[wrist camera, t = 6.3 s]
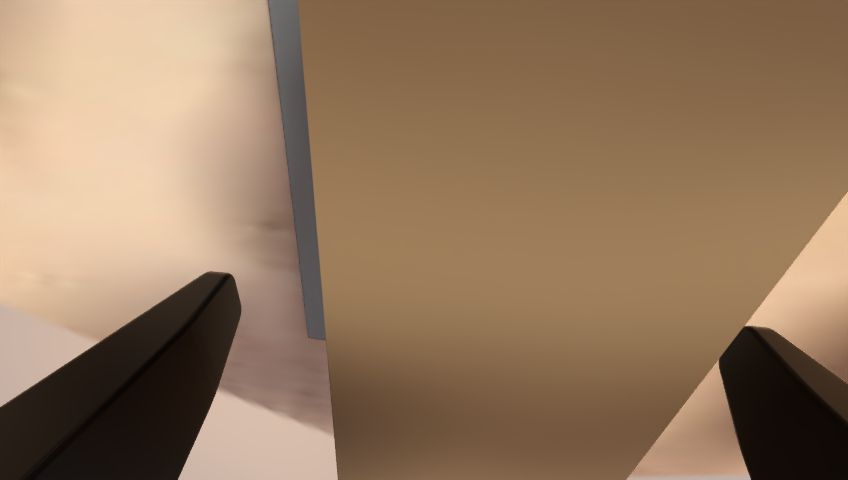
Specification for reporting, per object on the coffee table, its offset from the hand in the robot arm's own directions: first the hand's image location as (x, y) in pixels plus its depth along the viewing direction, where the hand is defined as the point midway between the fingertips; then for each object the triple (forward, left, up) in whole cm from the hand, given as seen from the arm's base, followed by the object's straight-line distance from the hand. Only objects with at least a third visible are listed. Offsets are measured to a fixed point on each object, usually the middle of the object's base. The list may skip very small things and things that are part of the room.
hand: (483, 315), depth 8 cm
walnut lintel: (0, 0, -2) cm, 2 cm away
